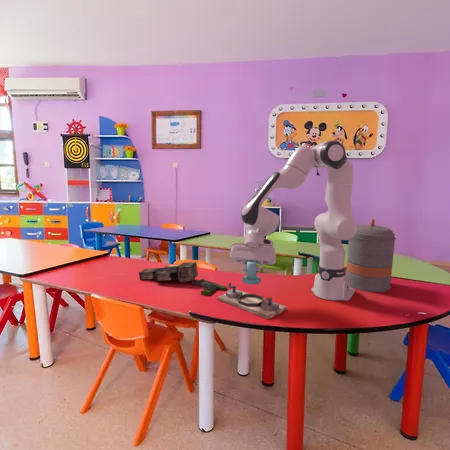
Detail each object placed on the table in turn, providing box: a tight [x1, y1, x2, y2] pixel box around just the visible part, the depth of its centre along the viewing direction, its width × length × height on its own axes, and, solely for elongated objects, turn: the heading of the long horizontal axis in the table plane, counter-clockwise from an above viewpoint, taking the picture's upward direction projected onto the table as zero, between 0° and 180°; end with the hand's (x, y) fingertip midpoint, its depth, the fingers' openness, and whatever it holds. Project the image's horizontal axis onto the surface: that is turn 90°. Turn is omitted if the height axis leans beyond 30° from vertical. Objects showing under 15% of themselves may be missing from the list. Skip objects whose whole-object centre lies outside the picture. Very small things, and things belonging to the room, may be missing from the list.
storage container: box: [345, 218, 397, 293], centre depth 168 cm, size 22×22×35 cm
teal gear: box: [241, 261, 262, 286], centre depth 140 cm, size 8×8×8 cm
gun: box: [191, 278, 228, 297], centre depth 162 cm, size 2×19×15 cm
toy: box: [138, 261, 199, 283], centre depth 174 cm, size 16×9×30 cm
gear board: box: [217, 282, 287, 320], centre depth 141 cm, size 13×28×8 cm, turn 46°
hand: (251, 271), depth 139 cm, fingers closed on teal gear, 4 cm apart
